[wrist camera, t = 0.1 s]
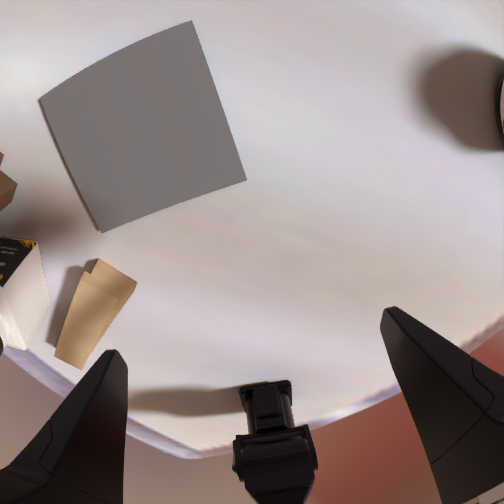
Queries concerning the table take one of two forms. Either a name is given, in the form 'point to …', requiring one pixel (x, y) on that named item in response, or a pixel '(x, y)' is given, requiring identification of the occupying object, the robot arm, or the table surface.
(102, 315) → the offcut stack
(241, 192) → the table surface
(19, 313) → the medicine bottle
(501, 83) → the spread jar
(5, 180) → the walnut rack
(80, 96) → the rubber mat
